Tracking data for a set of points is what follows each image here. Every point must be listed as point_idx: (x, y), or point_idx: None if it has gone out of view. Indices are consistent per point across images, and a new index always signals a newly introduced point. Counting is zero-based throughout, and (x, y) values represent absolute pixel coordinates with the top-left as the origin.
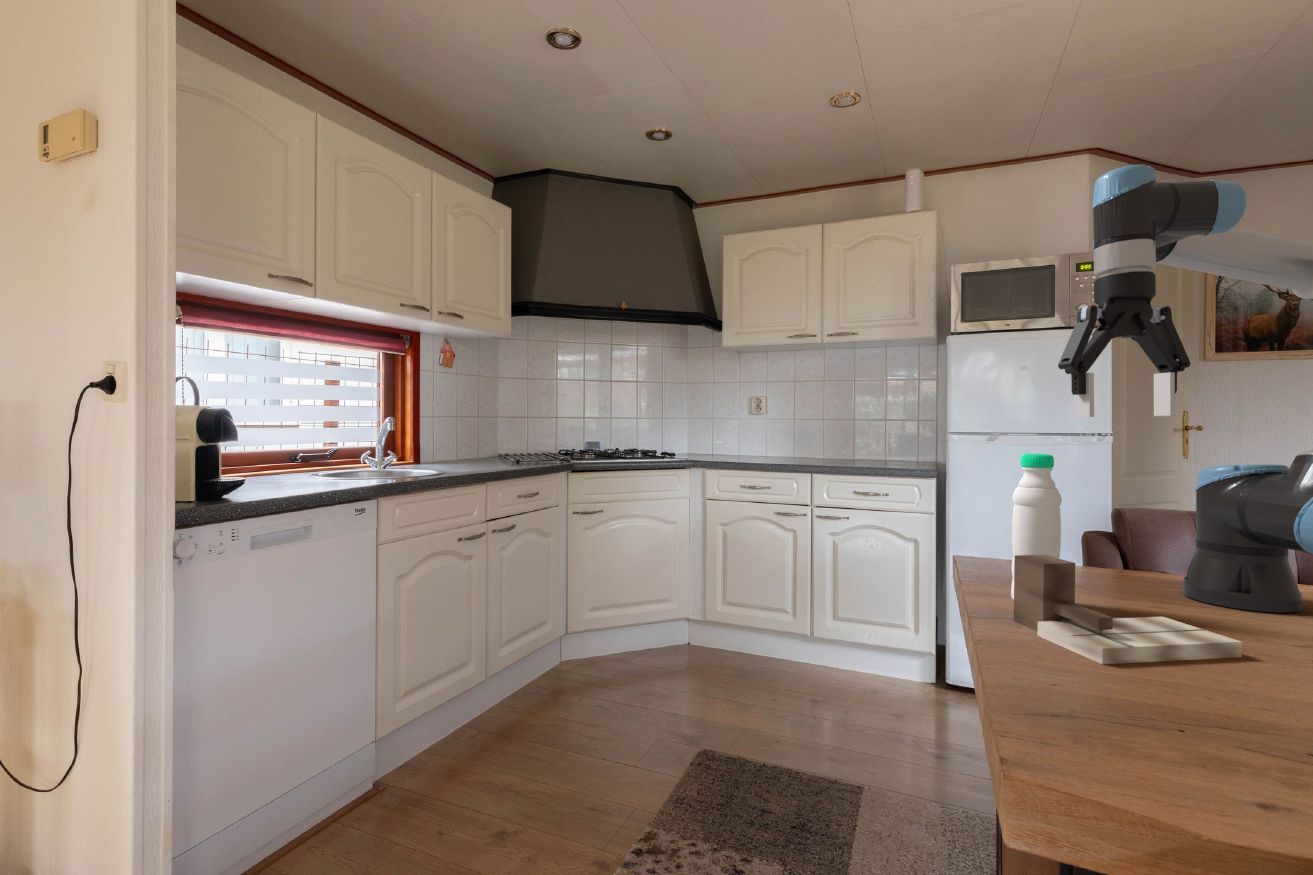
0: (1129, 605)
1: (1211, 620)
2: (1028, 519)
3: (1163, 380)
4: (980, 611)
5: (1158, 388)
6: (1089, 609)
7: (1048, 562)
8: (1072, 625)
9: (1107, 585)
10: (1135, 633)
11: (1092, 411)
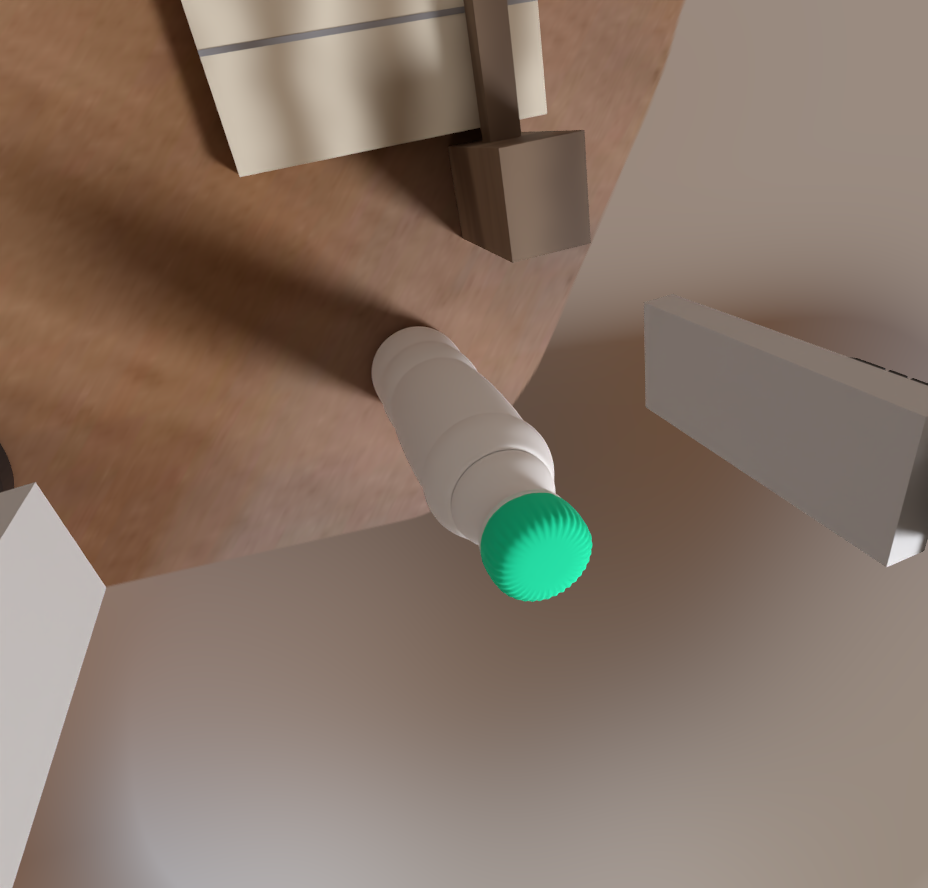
0: (208, 381)
1: (63, 274)
2: (513, 408)
3: None
4: (554, 287)
5: (19, 740)
6: (482, 56)
7: (561, 151)
8: None
9: (170, 550)
10: (389, 18)
11: (675, 309)
